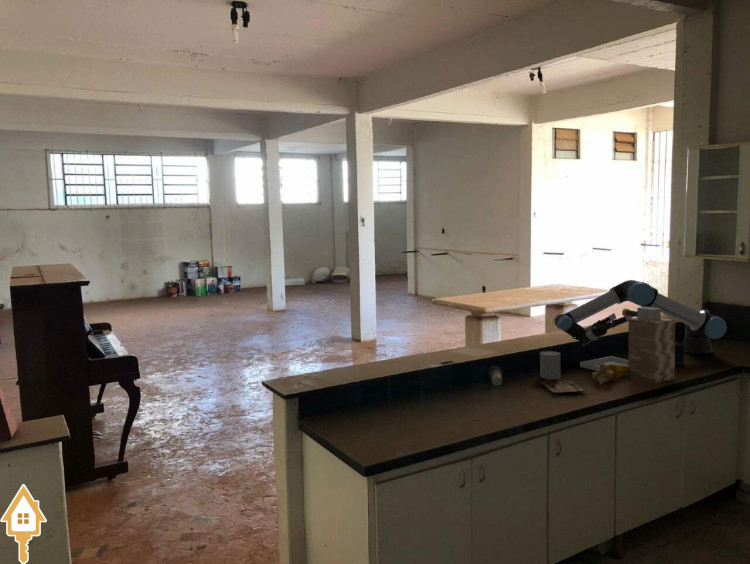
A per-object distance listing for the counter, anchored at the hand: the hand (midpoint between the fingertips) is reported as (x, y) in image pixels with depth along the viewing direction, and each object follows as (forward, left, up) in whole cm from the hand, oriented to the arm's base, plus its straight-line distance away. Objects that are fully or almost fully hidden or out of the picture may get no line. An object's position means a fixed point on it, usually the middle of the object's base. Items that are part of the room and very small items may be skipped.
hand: (625, 314), depth 293 cm
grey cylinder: (+38, -11, -29) cm, 49 cm away
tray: (0, -7, -29) cm, 29 cm away
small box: (-32, +2, -29) cm, 43 cm away
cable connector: (0, +8, -1) cm, 8 cm away
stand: (0, +15, -29) cm, 32 cm away
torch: (+18, +9, -28) cm, 34 cm away
